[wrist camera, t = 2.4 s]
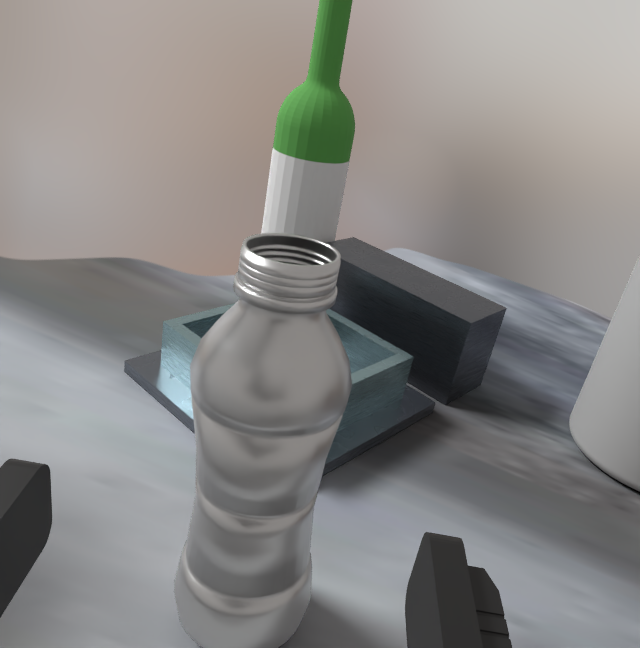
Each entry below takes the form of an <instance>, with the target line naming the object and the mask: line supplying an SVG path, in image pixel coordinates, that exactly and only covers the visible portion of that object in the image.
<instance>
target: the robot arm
mask: <svg viewBox="0 0 640 648" xmlns="http://www.w3.org/2000/svg"><path fill="white" fill-rule="evenodd" d="M51 524H52V503H51V479H50V469H49V466H48V465H46V464H40V463H35V462H29V461H23V460H17V459H9V460H7V461H6V462H5V463H4V464H3V465H2V466H1V468H0V617H1V616H2V614H3V612H4V611H5V609H6V608H7V606H8V604H9V603H10V601H11V600H12V598H13V596H14V595H15V593H16V592H17V590H18V588H19V587H20V585H21V584H22V582H23V580H24V579H25V577H26V576H27V574H28V572H29V571H30V569H31V568H32V566H33V564H34V563H35V561H36V560H37V558H38V556H39V555H40V553H41V552H42V550H43V548H44V546H45V544H46V542H47V539H48V537H49V533H50V530H51ZM405 617H406V632H407V648H512V645H511V640H510V639H509V632H508V628H507V623H506V619H504V611H503V606H502V602H501V598H500V594H499V590H498V589H497V587H496V586H495V584H494V583H493V581H492V580H491V578H490V577H489V575H488V574H487V572H486V571H485V569H484V568H478V567H473V566H468V565H467V560H466V554H465V549H464V544H463V541H462V539H461V538H458V537H452V536H446V535H440V534H435V533H429V532H426V533H425V534H424V536H423V538H422V541H421V544H420V548H419V551H418V554H417V557H416V560H415V563H414V566H413V570H412V573H411V576H410V579H409V582H408V587H407V593H406V602H405Z"/></svg>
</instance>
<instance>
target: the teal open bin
mask: <svg viewBox="0 0 640 648" xmlns="http://www.w3.org/2000/svg"><path fill="white" fill-rule="evenodd" d="M327 244H329V245H331V246H332V247H334V248H335V249H337V250H338V251H339V253H340V254H341V258H340V260H341V264H340V268H339V273H338V278H337V283H336V286H337V297H336V302H335V304H334V305H333V306H332V307H331V308H330V309H327V310H326V313H327V315H328V317H329V318H330V320H331V322H332V324H333V325H334V327H335V329H336V331H337V332H338V334H339V337H340V339H341V341H342V344H343V346H344V348H345V351H346V353H347V355H348V358H349V362H350V370H351V378H352V388H351V391H350V395H349V398H348V402H347V405H346V408H345V411H344V413H343V416H342V419H341V421H340V424H339V427H338V429H337V432H336V435H335V437H334V440H333V442H332V445H331V448H330V450H329V453H328V456H327V458H326V462H325V466H324V470H323V474H322V476H323V475H325V474H326V473H328V472H330V471H332V470H333V469H335V468H337V467H339V466H340V465H342V464H344V463H346V462H347V461H349V460H351V459H352V458H354V457H356V456H358V455H359V454H361V453H363V452H365V451H366V450H368V449H370V448H372V447H373V446H375V445H377V444H378V443H380V442H382V441H384V440H385V439H387V438H389V437H391V436H392V435H394V434H396V433H398V432H399V431H401V430H403V429H405V428H406V427H408V426H410V425H411V424H413V423H415V422H417V421H418V420H420V419H422V418H424V417H425V416H427V415H429V414H431V413H432V412H433V409H434V406H435V402H434V401H432V400H430V399H429V398H427V397H425V396H424V395H422V394H420V393H419V392H417V391H416V390H414V389H412V388H411V387H409V386H407V385H406V383H407V382H408V383H410V384H412V385H413V386H415V387H416V388H418V389H420V390H421V391H423V392H425V393H426V394H428V395H430V396H431V397H433V398H435V399H436V400H438V401H440V402H441V403H443V404H445V405H446V404H448V403H450V402H451V401H453V400H455V399H457V398H458V397H460V396H462V395H464V394H465V393H467V392H469V391H470V390H472V389H474V388H476V387H477V386H479V385H481V382H482V379H483V376H484V373H485V370H486V367H487V364H488V361H489V358H490V355H491V352H492V350H493V347H494V344H495V341H496V338H497V335H498V332H499V329H500V326H501V323H502V320H503V317H504V314H505V311H506V309H507V308H505V307H503V306H501V305H499V304H497V303H495V302H493V301H490V300H488V299H486V298H484V297H482V296H480V295H477V294H475V293H473V292H471V291H469V290H467V289H464V288H462V287H460V286H458V285H456V284H454V283H451V282H449V281H447V280H445V279H443V278H441V277H438V276H436V275H434V274H432V273H430V272H428V271H425V270H423V269H421V268H419V267H417V266H415V265H413V264H410V263H408V262H406V261H404V260H402V259H400V258H397V257H395V256H393V255H391V254H389V253H387V252H384V251H382V250H380V249H378V248H376V247H373V246H371V245H369V244H367V243H365V242H363V241H361V240H358V239H356V238H354V237H353V238H348V239H343V240H337V241H332V242H327ZM234 304H235V303H234ZM234 304H230V305H226V306H222V307H218V308H214V309H211V310H207V311H203V312H199V313H195V314H191V315H187V316H183V317H179V318H175V319H171V320H167V321H163V337H162V350H160V351H157V352H153V353H150V354H146V355H143V356H139V357H136V358H132V359H129V360H126V361H125V369H124V371H125V372H126V373H127V374H128V375H129V376H130V377H131V378H133V379H134V380H135V381H136V382H137V383H138V384H139V385H140V386H142V387H143V388H144V389H145V390H146V391H147V392H148V393H149V394H151V395H152V396H153V397H154V398H155V399H156V400H157V401H159V402H160V403H161V404H162V405H163V406H164V407H165V408H166V409H168V410H169V411H170V412H171V413H172V414H173V415H174V416H176V417H177V418H178V419H179V420H180V421H181V422H182V423H183V424H185V425H186V426H187V427H188V428H189V429H190V430H191V431H193V432H194V433H195V429H194V419H193V409H192V400H191V391H190V364H191V362H192V359H193V357H194V355H195V352H196V350H197V347H198V345H199V343H200V340H201V338H202V337H203V336H204V335H205V334H206V333H207V332H208V330H209V329H210V328H211V327H212V326H213V325H214V324H215V322H216V321H217V320H218V319H219V318H220V317H221V316H222V315H223V314H224V313H225V312H227V311H228V310H229V309H230V308H231V307H232V306H233V305H234Z"/></svg>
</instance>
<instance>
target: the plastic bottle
mask: <svg viewBox="0 0 640 648" xmlns="http://www.w3.org/2000/svg"><path fill="white" fill-rule="evenodd" d="M340 258H341V254H340V253H339V251H338V250H337V249H335V248H334V247H332V246H331V245H329V244H327V243H324V242H322V241H319V240H316V239H313V238H309V237H305V236H300V235H294V234H285V233H262V234H256V235H252V236H249V237H247V238H246V239H245V240H244V241H243V245H242V247H241V253H240V261H239V270H238V272H237V273H236V275H235V279H234V286H233V288H234V292H235V293H236V295H237V296H238V297H239V298H240V299H239V301H238V302H236V303H235V304H234V305H233V306H232V307H231V308H230V309H229V310H228V311H227V312H225V313H224V314H223V315H222V316H221V317H220V318H219V319H218V320H217V321H216V322H215V324H214V325H213V326H212V327H211V328H210V329H209V330H208V332H207V333H206V334H205V335H204V336H203V337H202V338H201V340H200V343H199V345H198V347H197V350H196V352H195V355H194V357H193V359H192V362H191V364H190V391H191V400H192V409H193V419H194V429H195V439H196V494H195V500H194V505H193V510H192V516H191V521H190V526H189V532H188V537H187V540H186V542H185V545H184V548H183V550H182V553H181V557H180V560H179V564H178V568H177V572H176V576H175V580H174V594H175V600H176V605H177V611H178V615H179V620H180V622H181V624H182V626H183V628H184V630H185V632H186V633H187V634H188V635H189V636H190V638H191V639H192V640H193V641H195V642H196V643H197V644H198V645H200V646H201V647H202V648H278V647H280V646H281V645H282V644H284V643H285V642H287V641H288V640H289V638H290V637H291V636H292V635H293V634H294V633H295V631H296V630H297V628H298V626H299V624H300V622H301V620H302V618H303V616H304V614H305V612H306V610H307V607H308V605H309V601H310V598H311V585H312V561H311V553H310V547H311V535H312V523H313V511H314V505H315V501H316V497H317V493H318V488H319V485H320V482H321V478H322V474H323V470H324V466H325V462H326V458H327V456H328V453H329V450H330V448H331V445H332V442H333V440H334V437H335V435H336V432H337V429H338V427H339V424H340V421H341V419H342V416H343V413H344V411H345V408H346V405H347V402H348V398H349V395H350V391H351V388H352V378H351V370H350V362H349V358H348V355H347V353H346V351H345V348H344V346H343V344H342V341H341V339H340V337H339V334H338V332H337V331H336V329H335V327H334V325H333V324H332V322H331V320H330V318H329V317H328V315H327V313H326V310H327V309H330V308H331V307H332V306H333V305H334V304H335V302H336V297H337V286H336V283H337V278H338V273H339V268H340V264H341V260H340Z"/></svg>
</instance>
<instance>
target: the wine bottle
mask: <svg viewBox="0 0 640 648" xmlns="http://www.w3.org/2000/svg"><path fill="white" fill-rule="evenodd" d="M351 5H352V0H320V1H319V8H318V15H317V20H316V27H315V33H314V40H313V46H312V52H311V59H310V65H309V71H308V76H307V79H306V81H305V82H304V83H303V84H302V85H300V86H298V87H297V88H295V89H294V90H293V91H292V92H291V93H290V94H289V95H288V96H287V97H286V99H285V101H284V102H283V104H282V106H281V108H280V110H279V113H278V117H277V123H276V130H275V138H274V145H273V151H272V158H271V165H270V173H269V180H268V188H267V195H266V203H265V210H264V218H263V225H262V232H261V234H262V233H285V234H294V235H300V236H305V237H309V238H313V239H316V240H319V241H322V242H324V243H327V242H332V241H335V235H336V230H337V225H338V219H339V214H340V209H341V203H342V198H343V193H344V187H345V181H346V176H347V171H348V166H349V159H350V153H351V149H352V143H353V138H354V132H355V120H354V114H353V110H352V107H351V105H350V103H349V101H348V99H347V98H346V96H345V95H344V94H343V92H342V91H341V89H340V87H339V79H340V72H341V67H342V61H343V55H344V49H345V43H346V35H347V30H348V24H349V18H350V12H351Z"/></svg>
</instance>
